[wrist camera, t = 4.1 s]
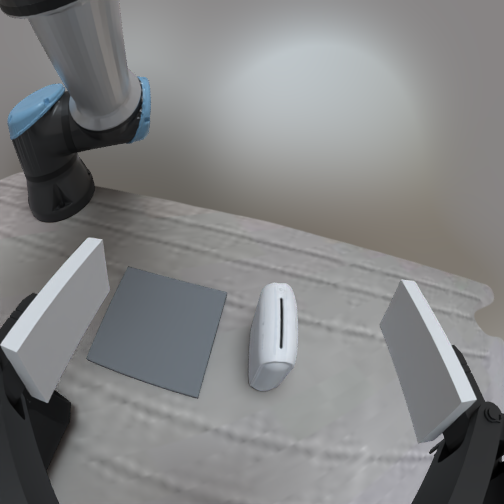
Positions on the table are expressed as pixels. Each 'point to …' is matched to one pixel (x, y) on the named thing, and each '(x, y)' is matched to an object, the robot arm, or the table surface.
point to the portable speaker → (48, 422)
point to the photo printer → (273, 337)
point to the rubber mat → (159, 331)
